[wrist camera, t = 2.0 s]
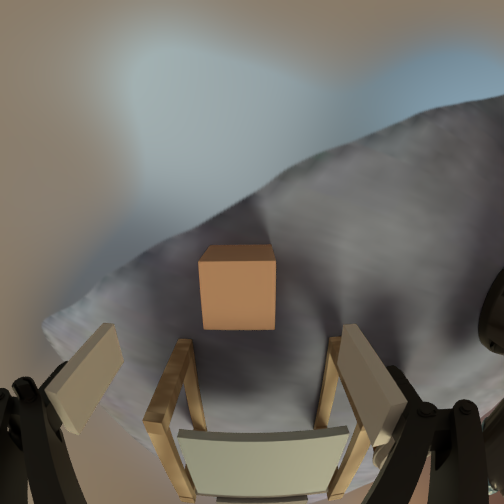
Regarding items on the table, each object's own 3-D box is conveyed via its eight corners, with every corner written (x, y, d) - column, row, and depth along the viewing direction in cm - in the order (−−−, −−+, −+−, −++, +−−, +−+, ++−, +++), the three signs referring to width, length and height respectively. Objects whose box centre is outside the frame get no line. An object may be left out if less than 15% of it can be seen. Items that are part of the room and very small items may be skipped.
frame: (342, 336, 30) (383, 415, 17) (324, 428, 33) (341, 498, 21) (178, 338, 30) (142, 420, 17) (196, 430, 34) (181, 501, 21)
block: (271, 244, 27) (275, 260, 21) (270, 301, 29) (274, 329, 23) (209, 244, 27) (198, 261, 21) (213, 301, 29) (203, 329, 23)
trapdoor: (348, 419, 20) (354, 438, 17) (318, 497, 24) (320, 510, 21) (177, 423, 20) (171, 442, 17) (204, 499, 24) (202, 513, 22)
